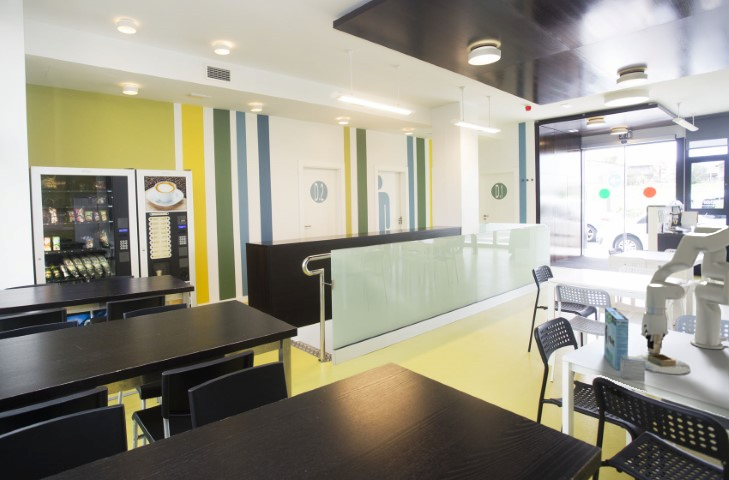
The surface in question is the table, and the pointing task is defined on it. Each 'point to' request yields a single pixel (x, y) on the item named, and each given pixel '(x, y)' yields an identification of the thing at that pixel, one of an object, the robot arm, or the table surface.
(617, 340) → the gum box
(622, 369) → the medicine box
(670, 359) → the rosette plate
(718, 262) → the robot arm
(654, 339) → the tan block
